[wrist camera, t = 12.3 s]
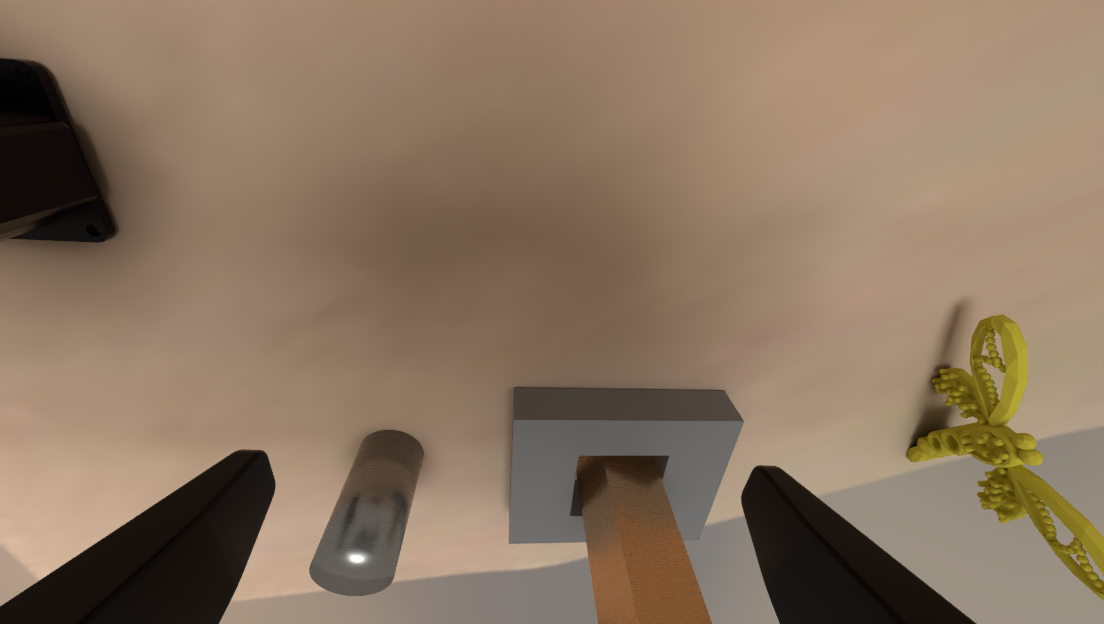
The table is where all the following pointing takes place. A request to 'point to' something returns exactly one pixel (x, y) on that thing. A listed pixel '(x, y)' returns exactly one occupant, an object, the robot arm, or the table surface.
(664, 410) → the socket plate
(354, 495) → the round bit
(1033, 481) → the decorative insect
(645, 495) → the square bit
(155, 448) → the table surface
